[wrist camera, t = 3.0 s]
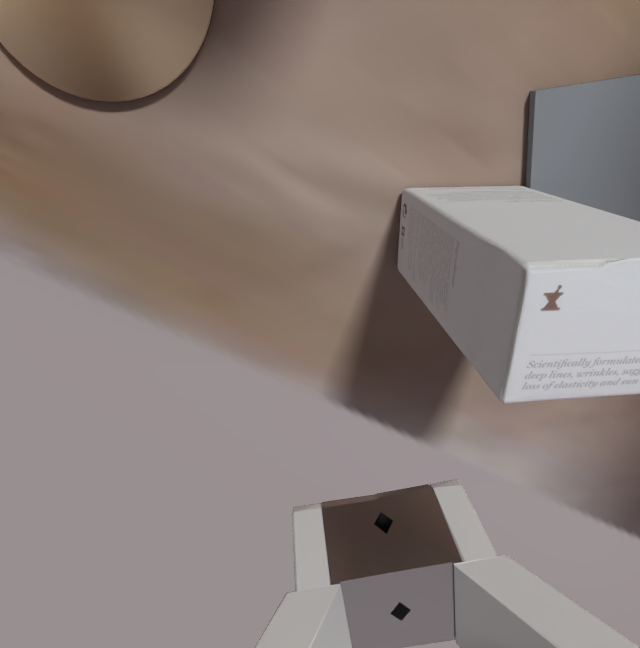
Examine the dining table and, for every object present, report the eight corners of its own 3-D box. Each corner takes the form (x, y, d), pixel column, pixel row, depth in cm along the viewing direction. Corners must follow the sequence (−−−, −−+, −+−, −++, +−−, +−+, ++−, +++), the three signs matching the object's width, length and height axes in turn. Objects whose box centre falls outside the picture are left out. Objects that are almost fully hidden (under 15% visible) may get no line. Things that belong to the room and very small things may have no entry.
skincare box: (395, 272, 24) (490, 419, 13) (400, 180, 22) (516, 265, 11) (514, 267, 25) (701, 407, 14) (529, 177, 23) (761, 255, 12)
